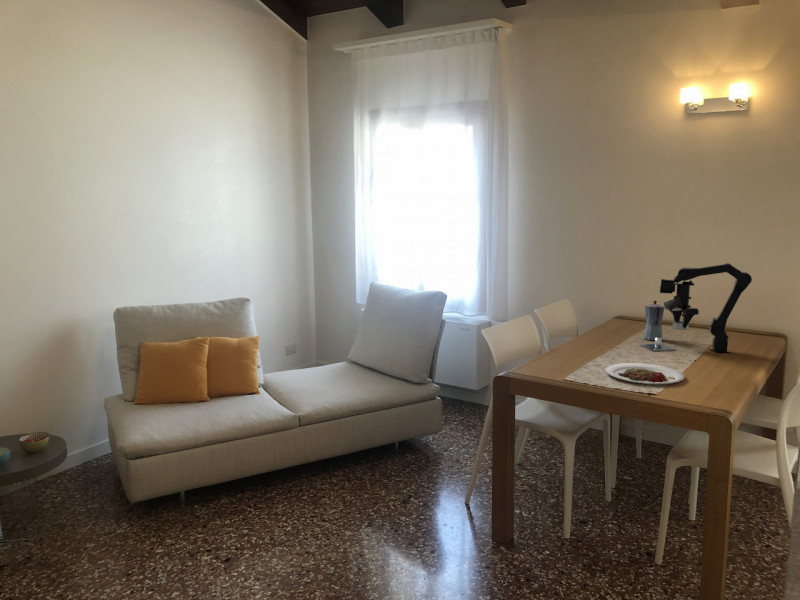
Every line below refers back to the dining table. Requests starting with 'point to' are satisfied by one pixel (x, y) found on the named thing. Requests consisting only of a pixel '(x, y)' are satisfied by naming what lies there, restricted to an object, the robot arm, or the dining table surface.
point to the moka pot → (653, 321)
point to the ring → (679, 325)
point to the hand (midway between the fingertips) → (680, 326)
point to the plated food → (644, 373)
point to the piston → (658, 346)
